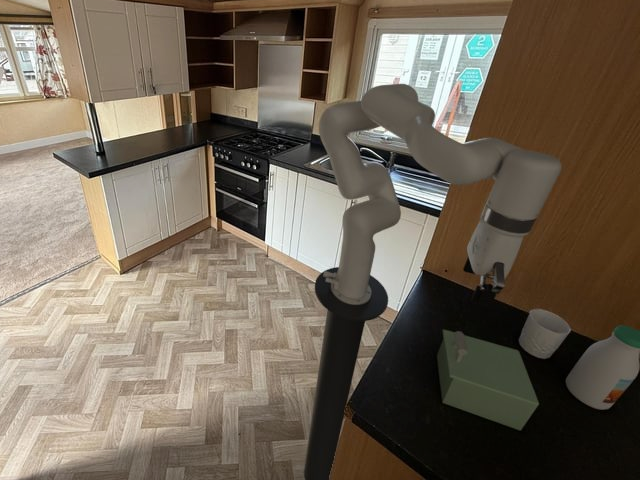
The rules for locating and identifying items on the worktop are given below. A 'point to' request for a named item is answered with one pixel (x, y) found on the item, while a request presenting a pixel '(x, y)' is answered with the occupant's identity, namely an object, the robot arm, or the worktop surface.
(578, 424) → the worktop surface
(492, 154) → the robot arm
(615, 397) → the milk bottle
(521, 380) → the lid
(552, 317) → the white cup
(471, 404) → the chest
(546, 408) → the worktop surface
